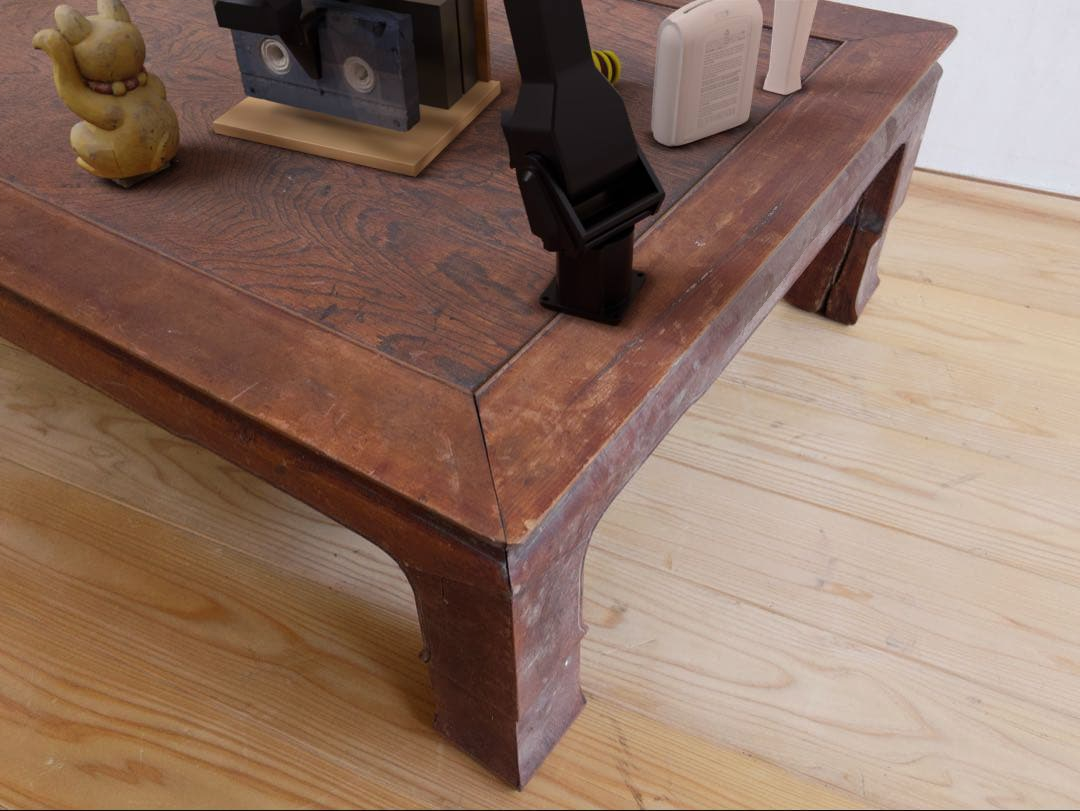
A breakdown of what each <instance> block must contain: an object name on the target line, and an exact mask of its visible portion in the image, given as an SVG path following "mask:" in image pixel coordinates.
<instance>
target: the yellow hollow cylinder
mask: <svg viewBox="0 0 1080 811" xmlns="http://www.w3.org/2000/svg"><path fill="white" fill-rule="evenodd" d="M591 52H592V56H593V60H594V63H595V66H596V67H597V68H598V69H599V70H600V72H601V73H602V74H603V75H604V76H605V77H606V78H607V80H608V81H609V82H610V83H611V84H612V85H613V86H614V85H616V84H617V83H618V81H619V79H620V78H621V75H622V74H621V73H622V65H621V61H620V59H619V57H618V56H617V55H616V54H615V53H614V52H613V51H611V50H602V51H601V50H596V49H591ZM516 68H517V71H518V74H519V75H520V71H519V67H518V62H517V61H516Z"/></svg>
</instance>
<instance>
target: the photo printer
mask: <svg viewBox="0 0 1080 811" xmlns="http://www.w3.org/2000/svg"><path fill="white" fill-rule="evenodd" d="M763 15H764V14H763V9H762V6H761V4H760V2H759V0H694V1H691V2H689V3H687V4H685V5H683V6H681V7H680V8H678V9H676V10H675V11H673V12H672V13H671V14H669V15H668V16H667V17H666V18H664V20H662V22H661V23H660V26H659V28H658V32H657V39H656V40H657V41H656V52H655V53H656V54H655V67H654V80H653V93H652V104H651V106H652V107H651V122H650V124H651V125H650V128H651V129H650V130H651V132H652V133H653V138H654V140H655V141H656V142H658V143H659V144H661V145H663V146H667V147H677V146H683V145H687V144H690V143H692V142H695V141H698V140H701V139H705V138H707V137H710V136H713V135H716V134H719V133H721V132H724V131H728V130H730V129H734V128H737V127H738V126H741V125H742V124H744V123H747V121H748V120H749V118H750V113H751V107H752V102H753V101H752V100H753V93H754V87H755V79H756V71H757V65H758V59H759V52H760V47H761V46H760V45H761V38H762V32H763V25H764V16H763Z"/></svg>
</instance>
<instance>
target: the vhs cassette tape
mask: <svg viewBox="0 0 1080 811" xmlns="http://www.w3.org/2000/svg"><path fill="white" fill-rule="evenodd" d="M314 2H315V6H318V7H324V8H328V10H327V12H326V13H325V15H324V16H323V17H322V19H321V20H320V21H319V23H318V34H319V44H320V53H321V63H322V78H321V79H320V80H315V79H311V78H309V76H308V75H307V74H306V72H305V71H304V69H303V68H302V67H301V65H300V64H299V63H298V61H297V60H296V58H295V57H294V56H293V54H292V53H291V52H290V50H289V49H288V47H287V46H286V45H285V44H284V42H283V41H282V40H281V38H280V37H279V36H278V35H274V36H268V35H262V34H257V33H251V32H245V31H239V30H233V29H230V34H231V38H232V44H233V48H234V53H235V56H236V62H237V66H238V69H239V72H240V79H241V83H242V88H243V92H244V95H245V96H247V97H248V96H249V97H253V98H257V99H264V100H267V101H271V102H275V103H280V104H284V105H288V106H292V107H296V108H301V109H306V110H310V111H314V112H320V113H324V114H328V115H331V116H335V117H339V118H344V119H348V120H353V121H357V122H361V123H366V124H370V125H375V126H379V127H383V128H387V129H392V130H396V131H401V132H407V131H410V130H411V129H412V128H413V126H414V125H416V124H417V123H418V122H419V121H420V106H419V91H418V82H417V70H416V62H415V50H414V43H412V40H413V29H412V21H411V15H410V14H400V13H396V12H392V11H388V10H384V9H379V8H373V7H367V6H363V5H357V4H350V3H345V2H341V1H337V0H314Z"/></svg>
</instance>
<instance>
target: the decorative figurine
mask: <svg viewBox="0 0 1080 811" xmlns="http://www.w3.org/2000/svg"><path fill="white" fill-rule="evenodd" d="M96 10H97V14H94V15H93V14H92V15H88V16H84V15H83V14H82V13H81V12H80V11H79V10H78V9H76V8H74V7H72V6H71V5H67V4H59V5H57V6H56V7H55V9H54V21H55V24H56V27H57V28H56V29H55V28H44V29H40V30H39V31H38V32H37V33H36V34H35V35H34V37H33V38H32V43H31V46H32V47H33V49H34V50H38V51H43V52H45V54H46V55H47V56H48V57H49V58H50V61H51V63H52V67H53V81H54V84H55V88H56V91H57V94H58V95H59V98H60V100H61V101H62V102H63V104H64V106H66V107H67V109H68V110H70V112H72V113H73V114H74V115H76V116H77V117H79V118H80V119H82V120H83V121H80V122H77V123H75V124H74V125H73V126H72V127H71V129H70V134H69V140H70V144H71V147H72V149H73V150H74V152H75V153H76V155H77V158H76V160H75V161H76V163H77V165H78V166H79V167H80V168H81V169H82V170H84V171H85V172H87V173H88V174H89V175H92V176H95V177H98V178H103V179H109V180H110V179H111V181H112V182H113V183H116V184H117V185H119V186H121V187H123V188H125V189H127V188H131V187H132V186H133V185H134V184H137V183H138V182H140V181H143V180H144V179H147V178H149V177H152V176H153V175H155V174H158V173H159V172H161V171H163V170H166V169H168V168H170V166H171V163H170V161H171V160H172V159H173V158H174V157H175V156H177V155H178V151H179V147H180V142H181V136H180V132H181V131H180V125H179V120H178V116H177V113H176V111H175V109H174V107H173V106H172V105H171V103H170V102H169V101H168V100H167V90H166V86H165V84H164V82H163V80H162V79H161V78H160V77H159V76H158V75H156V74H155V73H152V72H150V71H148V70H147V67H145V65H144V64H145V61H146V56H147V52H146V50H147V49H146V48H147V47H146V42H145V39H144V37H143V35H142V33H141V31H140V29H139V28H138V27H137V25H135V24H134V23H133V22H132V20H131V16H130V12H129V11H128V9H127V8H126V6H125V4H124V3H123V1H122V0H96Z"/></svg>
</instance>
